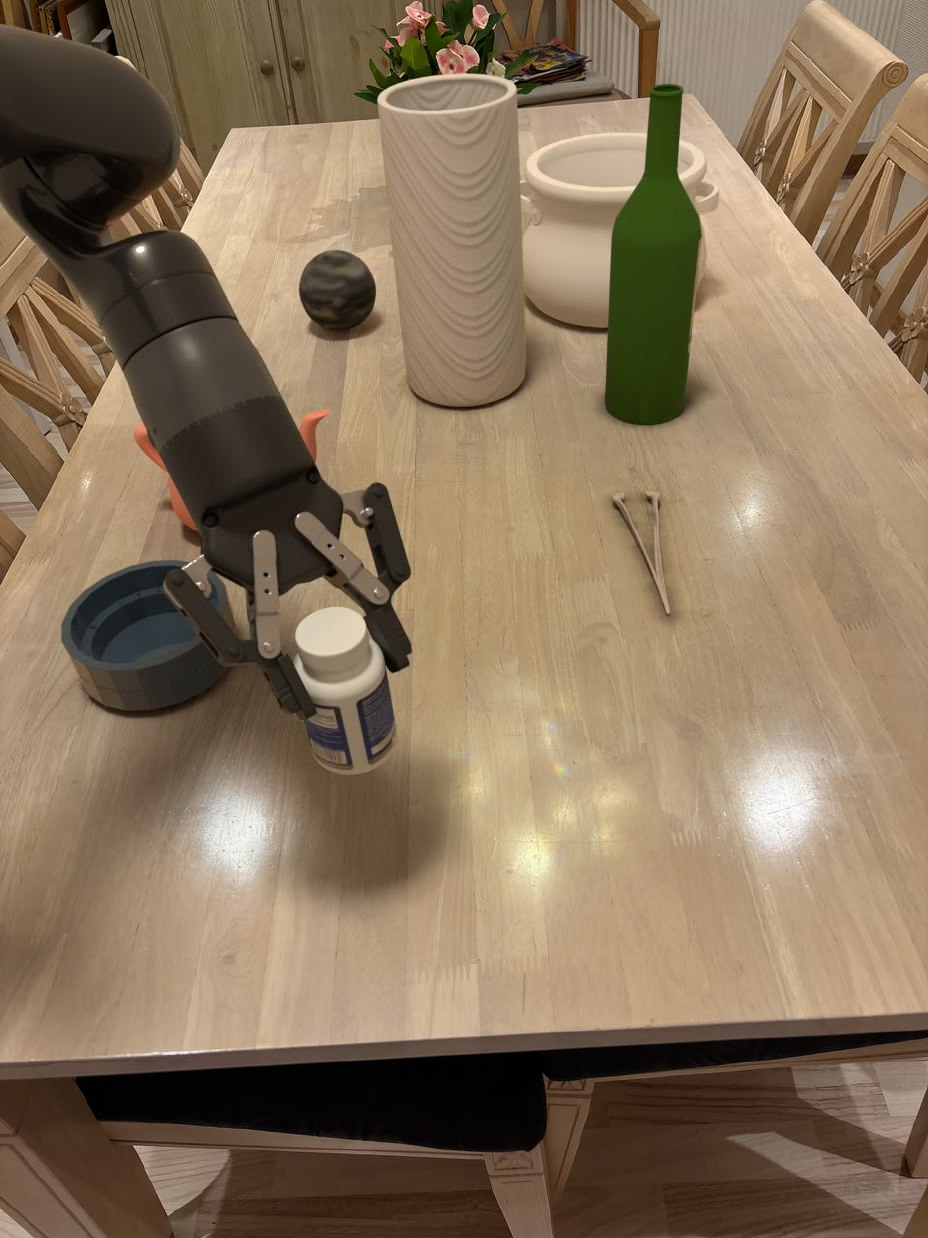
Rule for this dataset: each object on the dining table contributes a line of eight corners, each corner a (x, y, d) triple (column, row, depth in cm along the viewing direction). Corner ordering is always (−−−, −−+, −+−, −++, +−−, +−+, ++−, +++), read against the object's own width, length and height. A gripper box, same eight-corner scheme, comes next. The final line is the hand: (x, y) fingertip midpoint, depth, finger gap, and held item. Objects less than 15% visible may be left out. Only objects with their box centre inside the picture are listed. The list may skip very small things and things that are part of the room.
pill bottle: (385, 701, 63) (366, 587, 56) (408, 763, 59) (389, 648, 52) (304, 724, 62) (274, 611, 55) (321, 788, 58) (291, 675, 51)
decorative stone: (383, 339, 126) (373, 263, 119) (306, 348, 126) (292, 273, 119) (377, 306, 134) (368, 233, 127) (305, 315, 133) (291, 242, 126)
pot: (497, 332, 125) (491, 193, 114) (530, 256, 143) (528, 128, 131) (703, 342, 120) (719, 196, 108) (712, 261, 137) (726, 128, 125)
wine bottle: (697, 416, 107) (734, 93, 86) (621, 431, 106) (638, 107, 84) (665, 379, 114) (692, 69, 92) (593, 392, 113) (602, 82, 91)
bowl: (115, 743, 77) (93, 696, 74) (62, 650, 86) (39, 604, 82) (268, 667, 83) (254, 619, 79) (203, 586, 91) (188, 540, 87)
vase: (521, 412, 111) (513, 110, 89) (398, 411, 112) (361, 115, 91) (530, 352, 121) (524, 69, 100) (417, 352, 123) (388, 74, 102)
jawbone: (610, 500, 97) (611, 484, 96) (657, 497, 97) (659, 481, 96) (640, 627, 85) (642, 611, 83) (693, 623, 85) (696, 607, 83)
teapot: (335, 550, 94) (314, 443, 86) (138, 548, 96) (99, 443, 88) (359, 472, 104) (342, 369, 95) (179, 472, 106) (148, 371, 98)
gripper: (96, 448, 48) (251, 753, 49) (347, 355, 53) (484, 630, 54) (95, 488, 55) (231, 754, 56) (317, 402, 60) (439, 645, 61)
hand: (355, 691), depth 55 cm, fingers closed on pill bottle, 5 cm apart
